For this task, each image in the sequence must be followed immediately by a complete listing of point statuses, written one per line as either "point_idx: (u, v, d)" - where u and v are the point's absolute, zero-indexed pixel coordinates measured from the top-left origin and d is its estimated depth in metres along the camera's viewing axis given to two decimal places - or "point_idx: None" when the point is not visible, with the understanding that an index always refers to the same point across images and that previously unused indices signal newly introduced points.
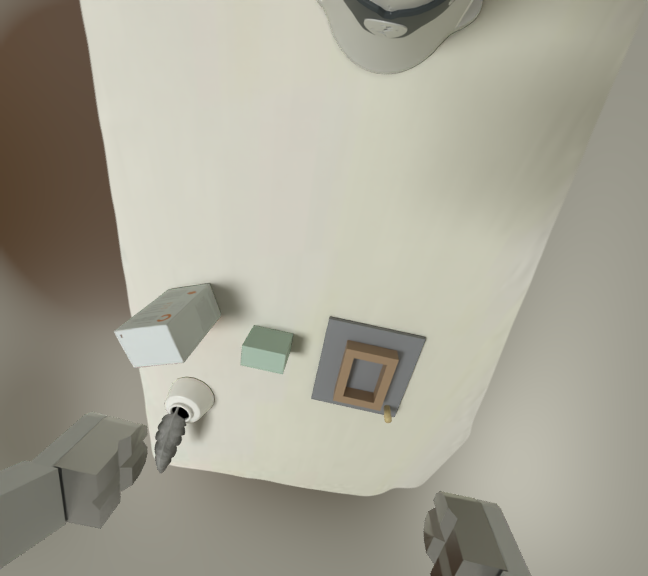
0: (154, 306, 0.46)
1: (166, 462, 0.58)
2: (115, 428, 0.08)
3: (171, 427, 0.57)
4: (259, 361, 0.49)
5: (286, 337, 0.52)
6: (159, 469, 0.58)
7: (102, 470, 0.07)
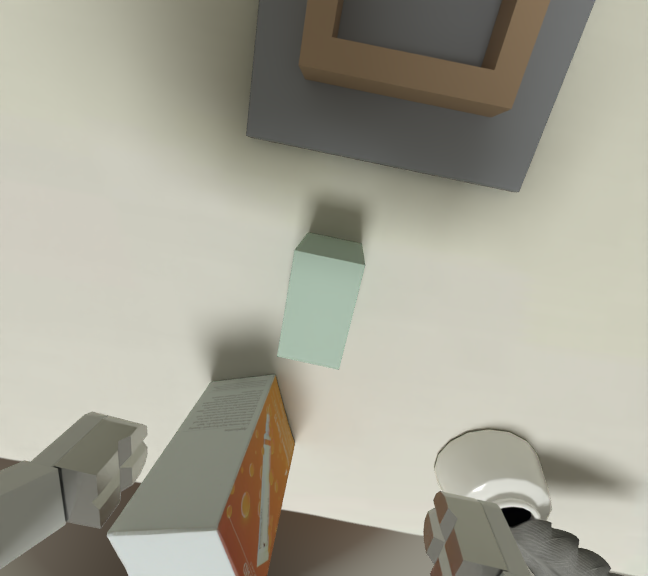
0: None
1: None
2: (115, 428, 0.08)
3: (544, 559, 0.23)
4: (322, 322, 0.18)
5: None
6: None
7: (102, 470, 0.07)
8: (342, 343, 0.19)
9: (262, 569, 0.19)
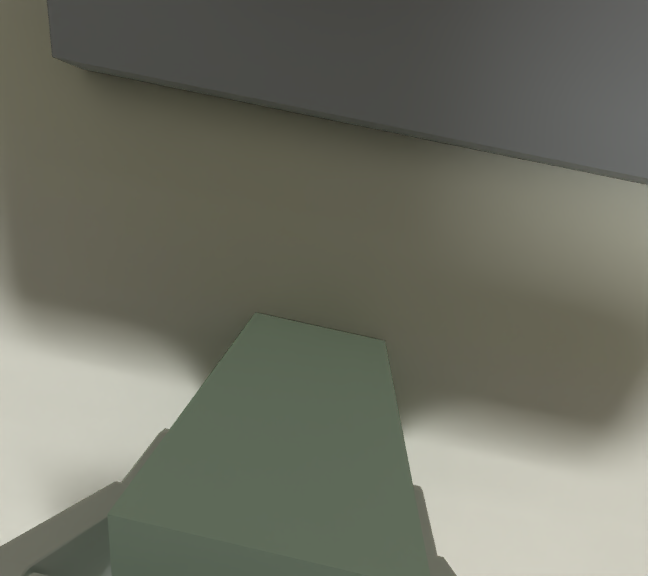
0: None
1: None
2: None
3: None
4: None
5: None
6: None
7: None
8: None
9: None
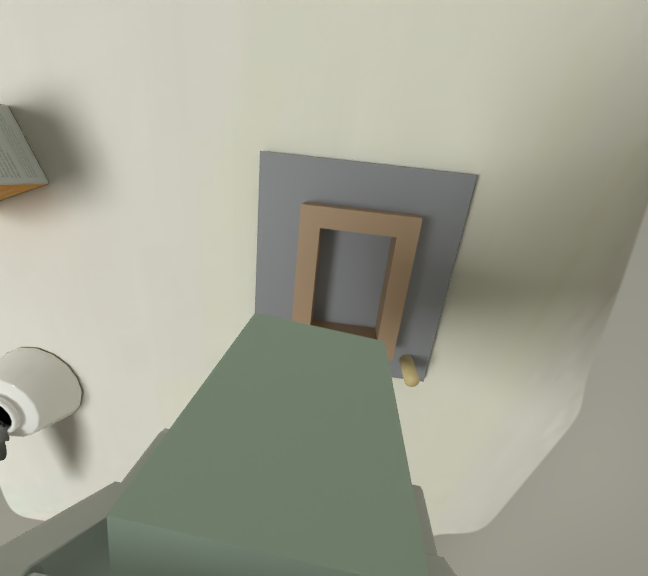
0: None
1: None
2: None
3: None
4: None
5: None
6: None
7: None
8: None
9: None
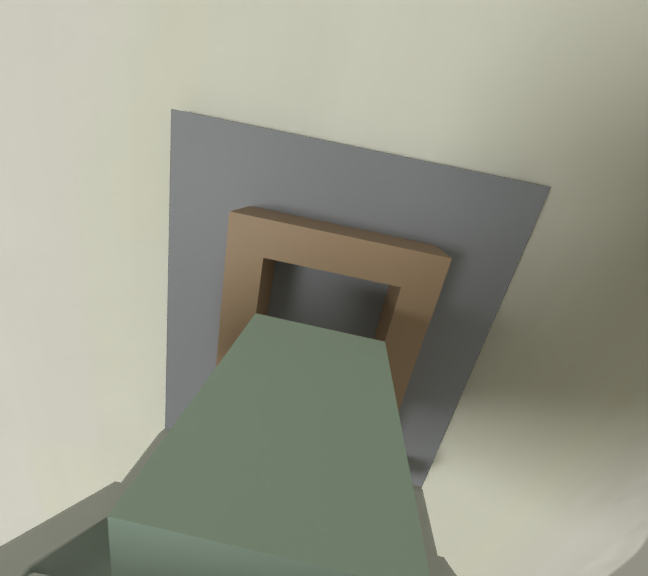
0: None
1: None
2: None
3: None
4: None
5: None
6: None
7: None
8: None
9: None
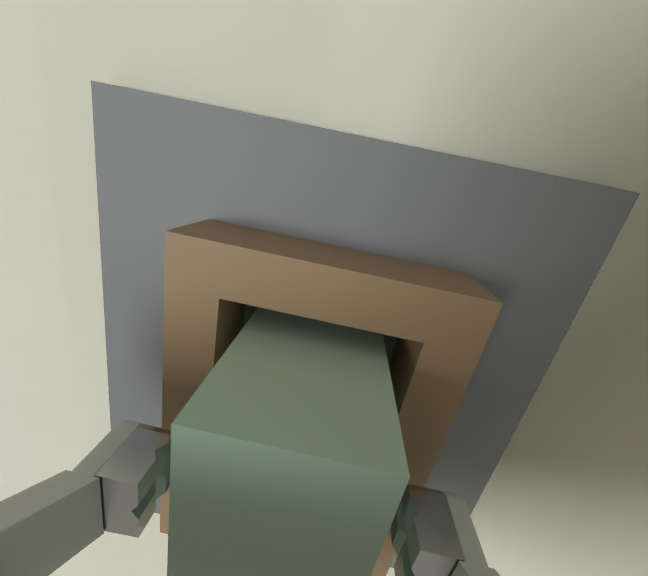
0: None
1: None
2: (150, 436, 0.08)
3: None
4: None
5: None
6: None
7: (142, 479, 0.07)
8: None
9: None
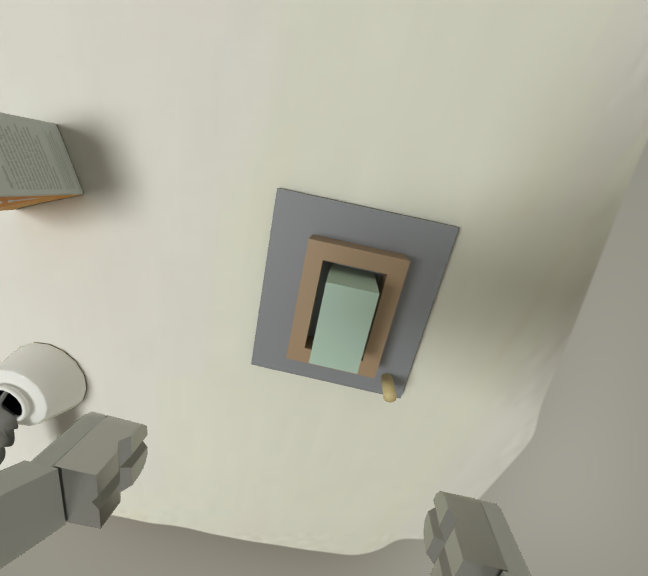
0: None
1: None
2: (115, 428, 0.08)
3: None
4: (345, 336, 0.24)
5: None
6: None
7: (102, 470, 0.07)
8: (360, 353, 0.24)
9: None
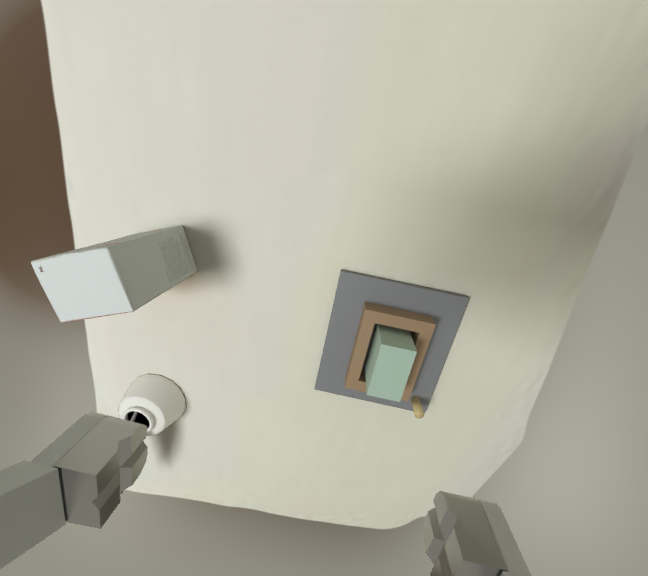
0: (101, 243, 0.33)
1: None
2: (115, 428, 0.08)
3: None
4: (392, 378, 0.35)
5: (376, 332, 0.39)
6: None
7: (102, 470, 0.07)
8: (402, 388, 0.36)
9: None
